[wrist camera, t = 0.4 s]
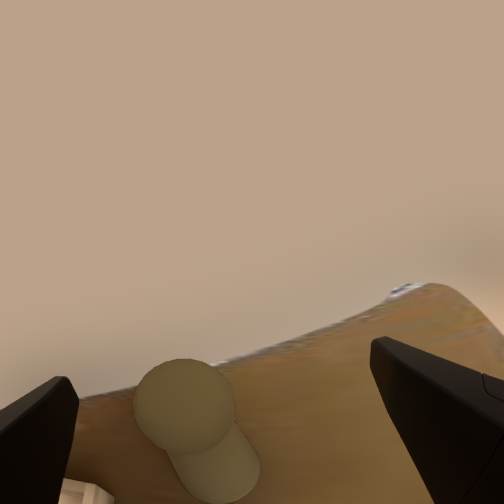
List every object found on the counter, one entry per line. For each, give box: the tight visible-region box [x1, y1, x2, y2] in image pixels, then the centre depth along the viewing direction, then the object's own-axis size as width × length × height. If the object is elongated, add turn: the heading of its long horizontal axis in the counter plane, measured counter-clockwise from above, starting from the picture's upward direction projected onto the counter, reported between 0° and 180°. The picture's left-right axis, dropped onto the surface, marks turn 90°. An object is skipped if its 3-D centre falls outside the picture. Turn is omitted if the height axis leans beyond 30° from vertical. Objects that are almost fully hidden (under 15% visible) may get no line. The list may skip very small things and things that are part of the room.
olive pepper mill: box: [133, 359, 260, 504], centre depth 17 cm, size 6×6×11 cm
